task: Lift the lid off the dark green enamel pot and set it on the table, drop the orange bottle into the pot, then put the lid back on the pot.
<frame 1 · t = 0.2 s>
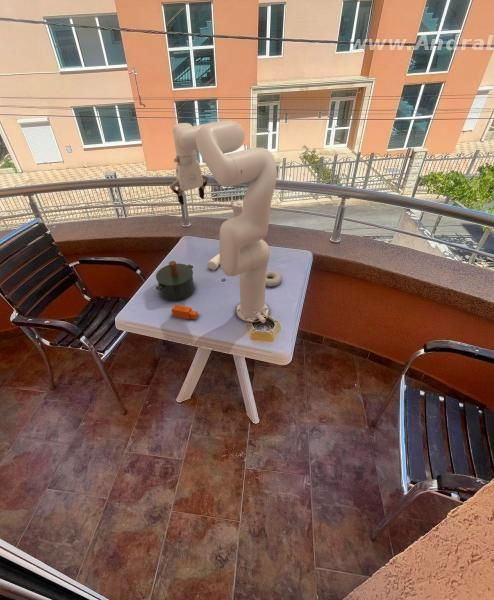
hand: (191, 200, 137), 31 cm above the table, tool pointing down, fingers open, 9 cm apart
orange bottle: (183, 315, 127), on the table
pot: (177, 290, 140), on the table
pot lid: (174, 274, 135), point 8 cm above the table, touching pot
donut: (270, 281, 142), on the table
unicorn horn: (221, 258, 158), on the table
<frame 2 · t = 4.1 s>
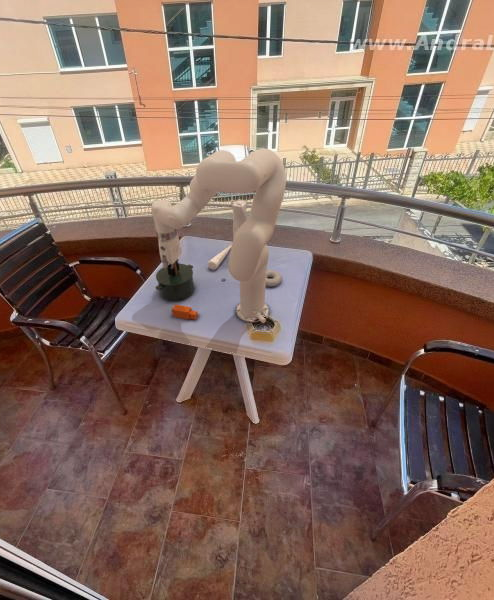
hand: (174, 272, 134), 10 cm above the table, tool pointing down, fingers closed on pot lid, 3 cm apart
pot lid: (174, 274, 135), point 9 cm above the table, touching gripper, pot
everything else where it was.
when the fingers open (2 cm above the table, at t = 12.3 s): pot lid stays where it is, point 1 cm above the table.
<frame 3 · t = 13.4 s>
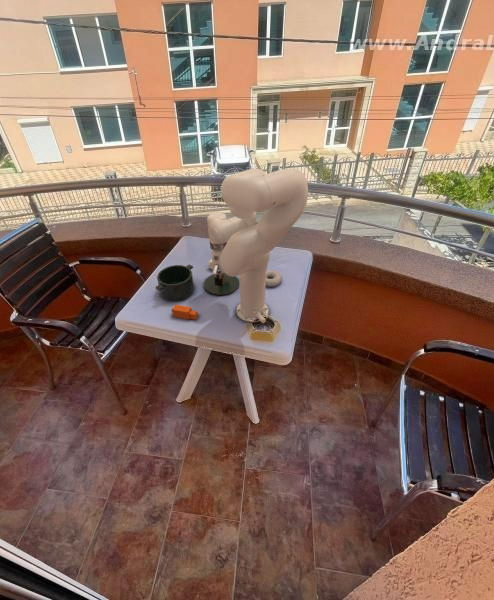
hand: (222, 278, 138), 4 cm above the table, tool pointing down, fingers open, 9 cm apart
pot lid: (221, 283, 141), point 1 cm above the table
everything else where it was.
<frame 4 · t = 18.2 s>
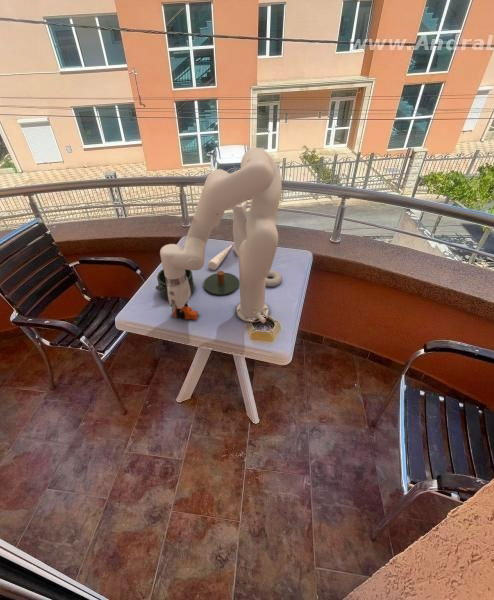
hand: (182, 314, 127), 1 cm above the table, tool pointing down, fingers closed on orange bottle, 3 cm apart
orange bottle: (183, 315, 127), on the table, touching gripper
everything else where it was.
when the fingers open (6 cm above the table, at t = 25.3 s): orange bottle drops 5 cm, resting on pot.
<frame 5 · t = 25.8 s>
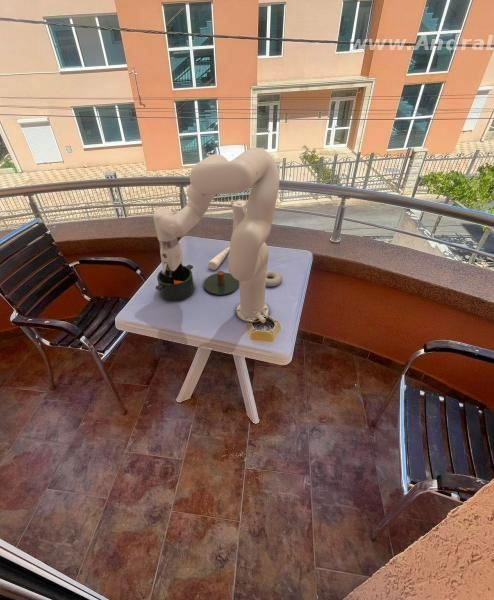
hand: (175, 277, 135), 7 cm above the table, tool pointing down, fingers open, 8 cm apart
orange bottle: (177, 289, 140), point 1 cm above the table, touching pot
everything else where it was.
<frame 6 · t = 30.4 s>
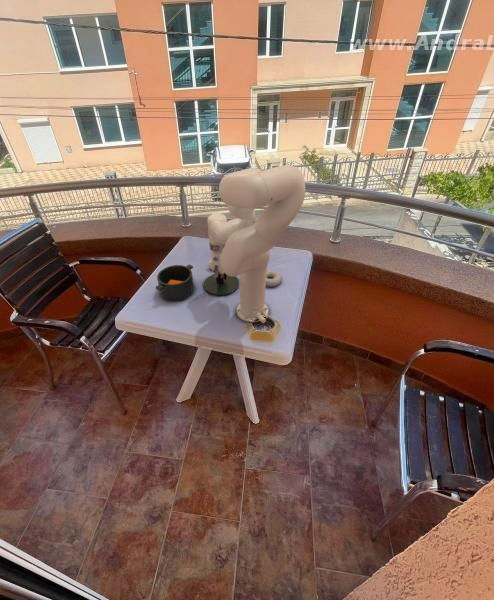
hand: (221, 281, 140), 2 cm above the table, tool pointing down, fingers closed on pot lid, 3 cm apart
pot lid: (221, 283, 141), point 1 cm above the table, touching gripper
everything else where it was.
when the fingers open (10 cm above the table, at t = 37.7 s): pot lid stays where it is, resting on pot.
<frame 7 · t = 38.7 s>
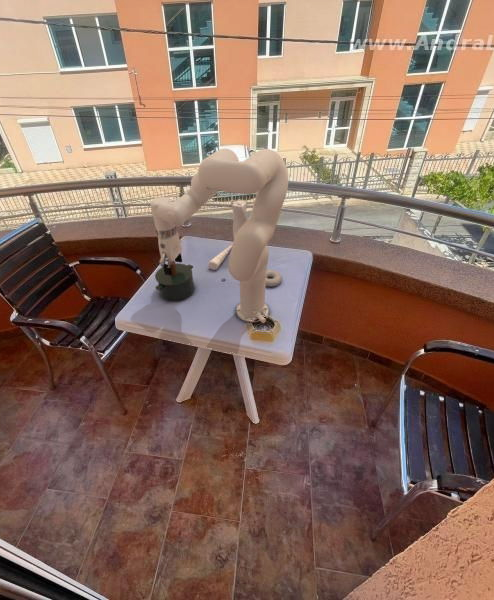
hand: (173, 268, 132), 12 cm above the table, tool pointing down, fingers open, 9 cm apart
pot lid: (173, 274, 135), point 8 cm above the table, touching pot
everything else where it was.
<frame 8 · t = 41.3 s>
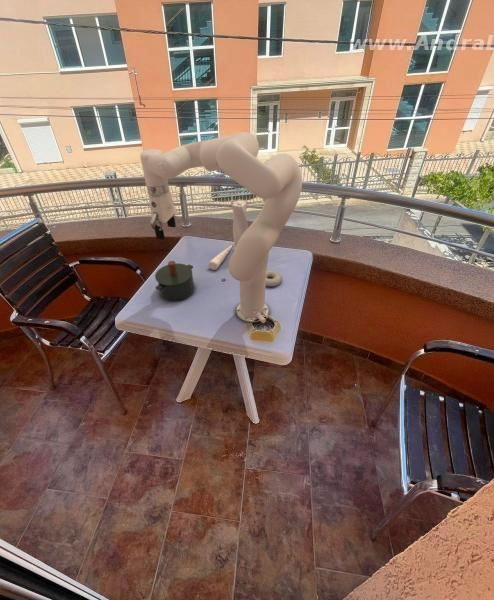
hand: (166, 232, 122), 28 cm above the table, tool pointing down, fingers open, 9 cm apart
nothing on the table moved.
at the end: orange bottle inside the target area in the pot (0.0 cm from its centre), point 0.5 cm above the pot's base; pot lid 0.4 cm off-centre on the pot, point 8.5 cm above the pot's base; pot lid tilted 0° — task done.
